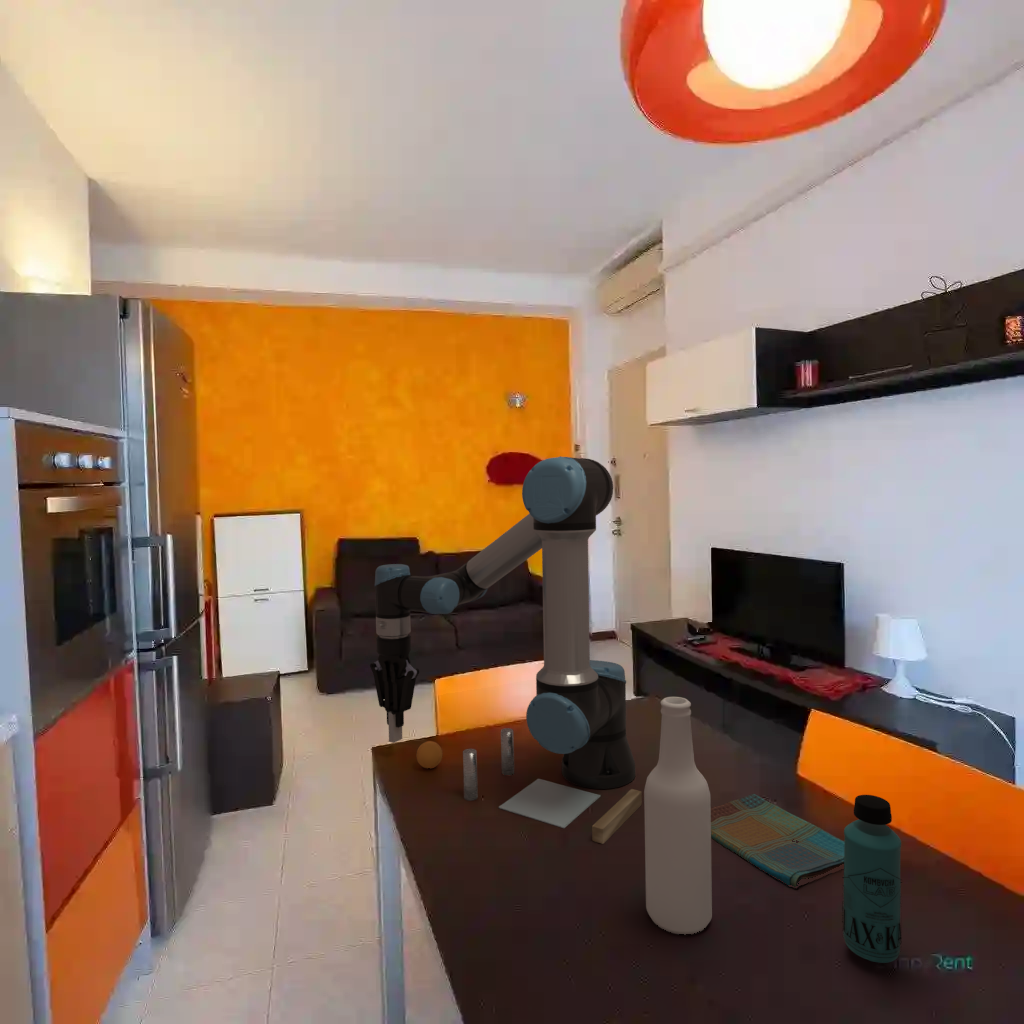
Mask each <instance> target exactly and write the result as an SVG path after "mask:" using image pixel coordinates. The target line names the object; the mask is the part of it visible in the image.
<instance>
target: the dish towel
mask: <svg viewBox="0 0 1024 1024" xmlns="http://www.w3.org/2000/svg"><path fill="white" fill-rule="evenodd" d="M793 839H794V840H793ZM711 840H713V841H715V842H716V843H718V844H719V845H721V846H723V847H724V848H725V849H727V848H728V849H727V850H729V849H730V850H729V851H731V852H732V851H733V852H735V853H736V854H735V853H734V854H735V855H737V854H738V855H739V856H741V857H742V858H744V859H746V860H747V861H749V862H751V863H752V864H754V865H755V866H757V867H759V868H760V869H761V870H764V871H765V872H767V873H768V874H770V875H772V876H774V877H776V878H777V879H780V880H781V881H783V882H784V883H786V884H787V885H792V886H794V887H796V886H798V885H797V883H798V882H799V881H800V880H801V879H806V878H808V879H809V878H813V877H816V876H818V875H821V874H824V873H826V872H828V871H830V870H832V869H834V868H836V867H839V866H840V865H842V864H844V842H845V840H842V839H840V838H838V837H837V836H835V835H833V834H831V833H830V832H829V831H826V830H824V829H822V828H821V827H819V826H817V825H815V824H813V823H810V821H808V820H807V821H806V820H805V819H803V818H801V817H798V816H797V815H795V814H792V813H790V812H788V811H787V810H785V809H783V808H781V807H780V806H778V805H776V804H774V803H771V801H770V802H769V801H768V800H766V799H764V798H762V797H761V796H759V795H757V794H755V793H751V794H749V795H747V796H743V797H740V798H738V799H734V800H731V801H729V802H726V803H723V804H719V805H715V806H712V807H711ZM792 840H793V841H795V842H792ZM796 840H797V841H799V842H798V843H796ZM733 852H732V853H733ZM738 855H737V856H738ZM739 856H738V857H739ZM741 857H740V858H741ZM742 858H741V859H742ZM744 859H743V860H744ZM747 861H746V862H747ZM749 862H748V863H749ZM752 864H751V865H752ZM755 866H754V867H755ZM760 869H759V870H760ZM761 870H760V871H761ZM765 872H764V873H765ZM768 874H767V875H768ZM770 875H769V876H770ZM784 883H783V884H784ZM798 884H799V883H798ZM787 885H786V886H787Z"/></svg>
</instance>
